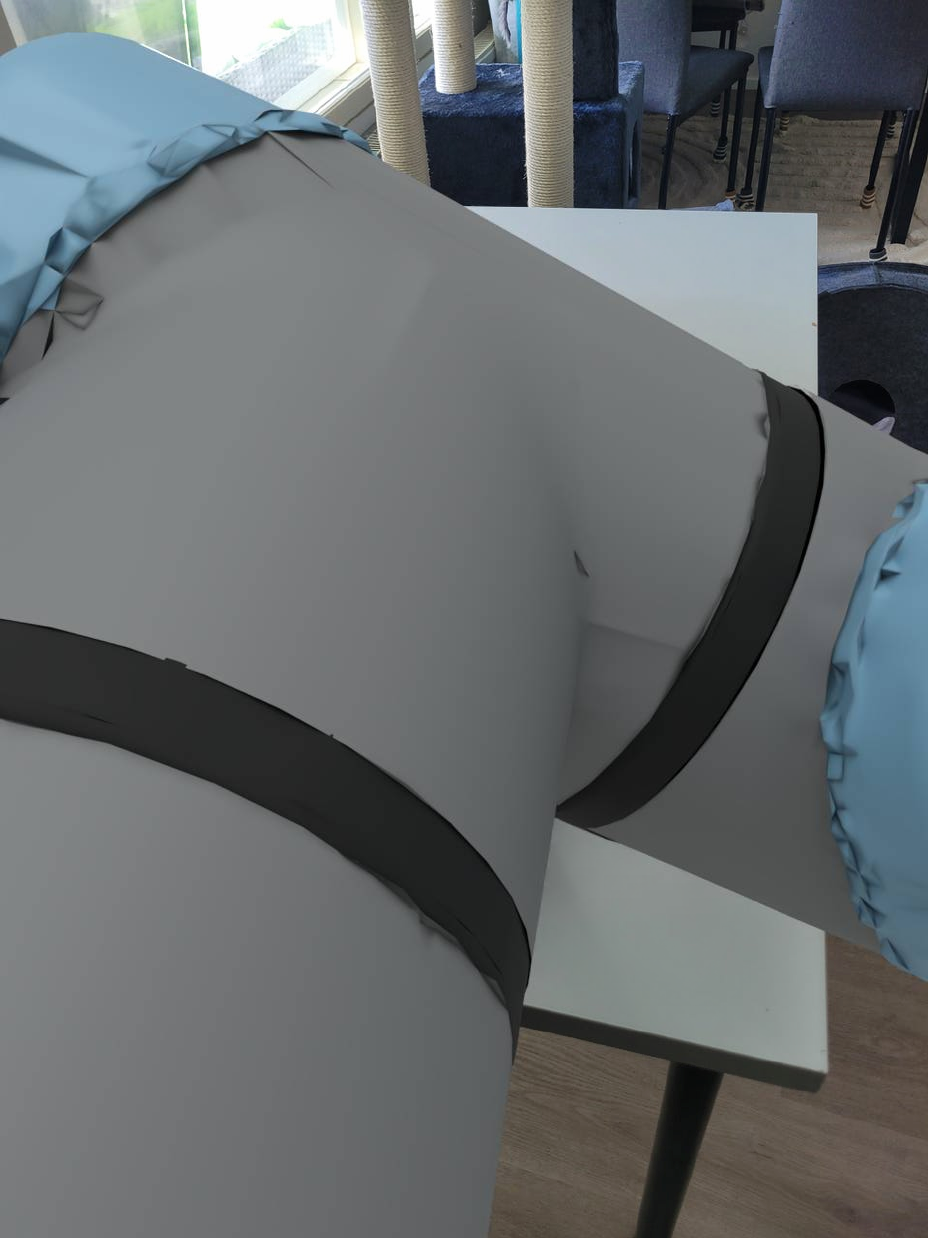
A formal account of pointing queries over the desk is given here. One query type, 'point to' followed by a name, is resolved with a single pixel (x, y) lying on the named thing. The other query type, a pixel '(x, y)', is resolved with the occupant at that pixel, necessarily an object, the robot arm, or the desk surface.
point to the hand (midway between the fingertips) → (477, 702)
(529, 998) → the desk surface
